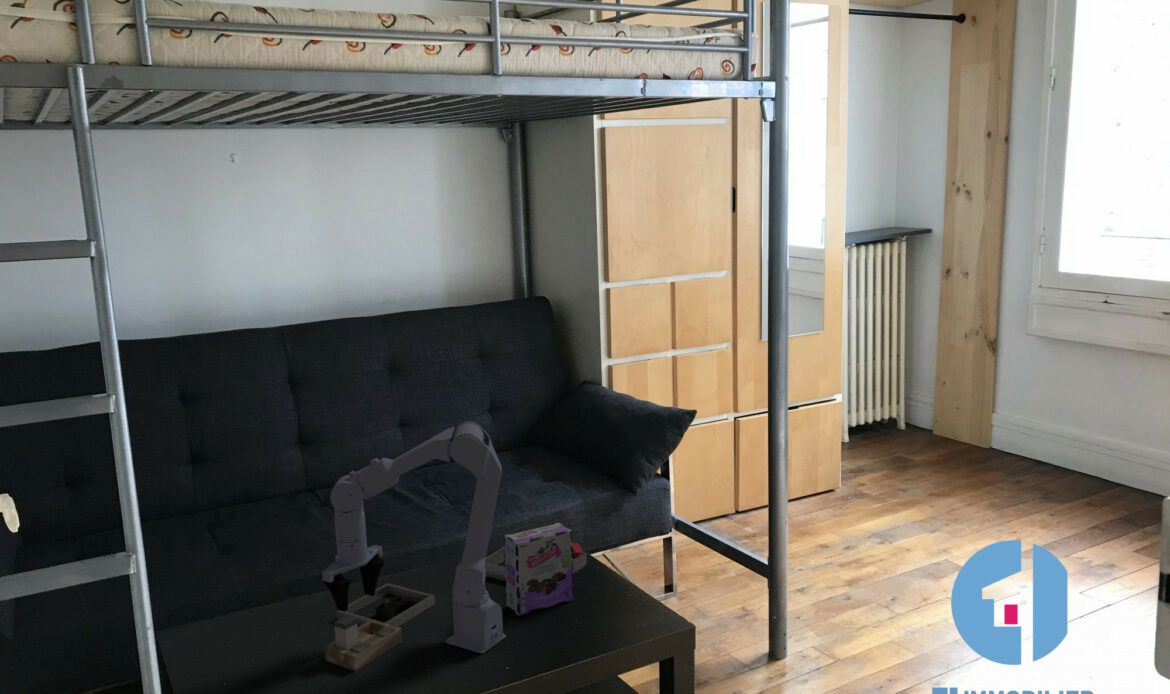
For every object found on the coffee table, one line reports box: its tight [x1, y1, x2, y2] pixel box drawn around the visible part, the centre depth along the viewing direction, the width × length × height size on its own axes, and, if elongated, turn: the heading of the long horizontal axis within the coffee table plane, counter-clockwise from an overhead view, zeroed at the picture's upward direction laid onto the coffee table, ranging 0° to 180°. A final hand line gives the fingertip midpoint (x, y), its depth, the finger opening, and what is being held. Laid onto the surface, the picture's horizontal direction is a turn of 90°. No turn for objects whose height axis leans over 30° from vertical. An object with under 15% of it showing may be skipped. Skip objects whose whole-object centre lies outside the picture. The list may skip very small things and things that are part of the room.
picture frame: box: [336, 582, 436, 627], centre depth 205 cm, size 14×16×2 cm
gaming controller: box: [375, 595, 419, 623], centre depth 204 cm, size 10×5×6 cm
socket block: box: [323, 618, 403, 672], centre depth 188 cm, size 8×13×3 cm, turn 149°
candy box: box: [503, 522, 575, 616], centre depth 205 cm, size 14×6×16 cm, turn 120°
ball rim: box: [485, 545, 588, 582], centre depth 224 cm, size 20×17×3 cm
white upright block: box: [333, 615, 358, 651], centre depth 185 cm, size 3×3×8 cm
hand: (356, 602), depth 189 cm, fingers open, 7 cm apart
